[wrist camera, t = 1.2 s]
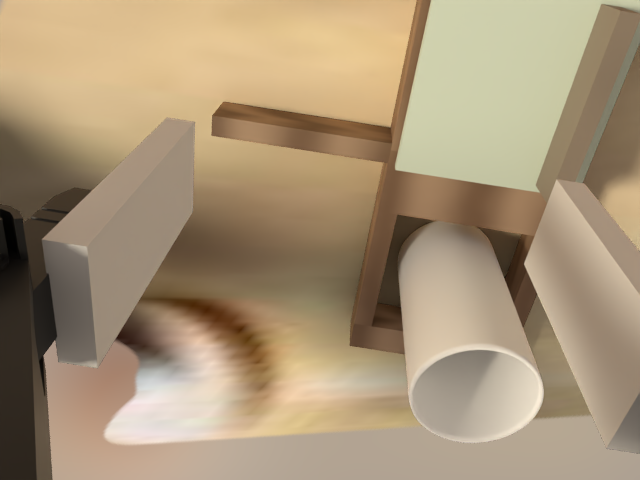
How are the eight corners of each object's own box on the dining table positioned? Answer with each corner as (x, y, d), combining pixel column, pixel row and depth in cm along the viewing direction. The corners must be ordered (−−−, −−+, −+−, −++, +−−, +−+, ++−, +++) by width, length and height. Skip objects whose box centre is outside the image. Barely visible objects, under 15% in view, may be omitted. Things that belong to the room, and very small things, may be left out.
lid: (394, 165, 40) (397, 187, 37) (438, -33, 34) (445, -27, 30) (572, 192, 40) (590, 217, 37) (649, 0, 34) (680, 9, 30)
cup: (450, 200, 46) (485, 323, 32) (514, 261, 48) (572, 400, 34) (378, 261, 49) (381, 395, 35) (441, 314, 51) (467, 461, 37)
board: (214, 299, 52) (204, 323, 49) (232, -94, 36) (220, -95, 33) (498, 343, 52) (505, 370, 49) (642, -30, 36) (667, -26, 33)
